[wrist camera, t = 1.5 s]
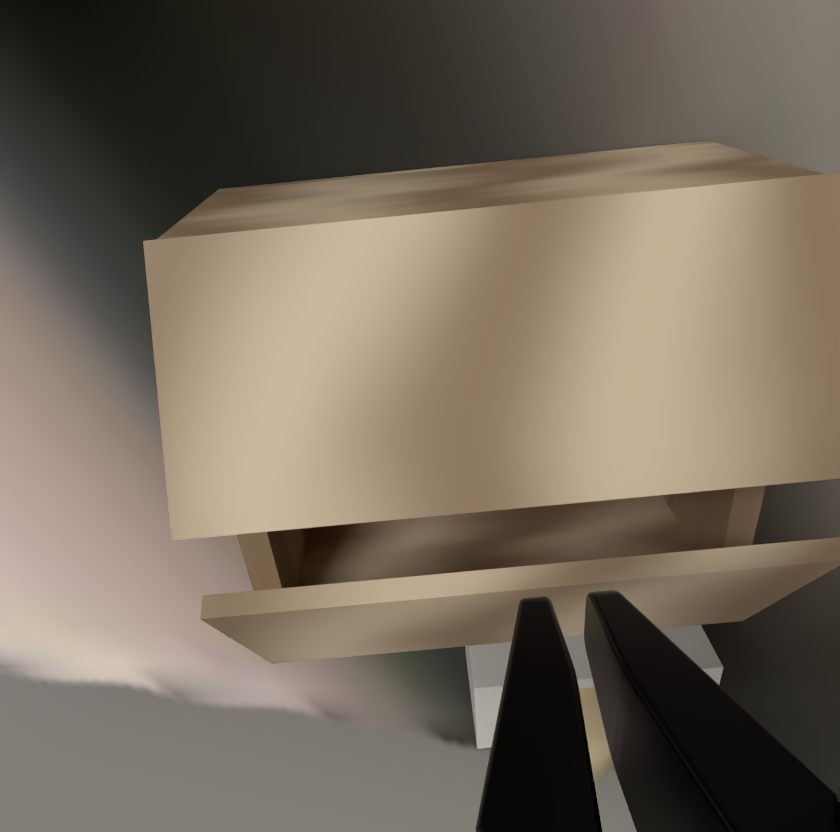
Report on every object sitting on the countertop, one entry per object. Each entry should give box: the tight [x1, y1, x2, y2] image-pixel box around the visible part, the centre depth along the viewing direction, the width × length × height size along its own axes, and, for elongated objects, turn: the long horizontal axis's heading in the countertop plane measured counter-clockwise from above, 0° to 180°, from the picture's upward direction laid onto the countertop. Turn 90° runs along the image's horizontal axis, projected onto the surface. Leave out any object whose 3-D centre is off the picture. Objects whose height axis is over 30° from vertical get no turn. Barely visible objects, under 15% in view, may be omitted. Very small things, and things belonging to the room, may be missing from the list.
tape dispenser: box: [465, 625, 723, 782], centre depth 25 cm, size 9×4×6 cm, turn 95°
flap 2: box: [201, 537, 840, 663], centre depth 16 cm, size 14×6×1 cm, turn 95°
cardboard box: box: [157, 141, 822, 591], centre depth 19 cm, size 14×12×6 cm
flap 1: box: [143, 173, 840, 540], centre depth 13 cm, size 14×6×1 cm, turn 95°
